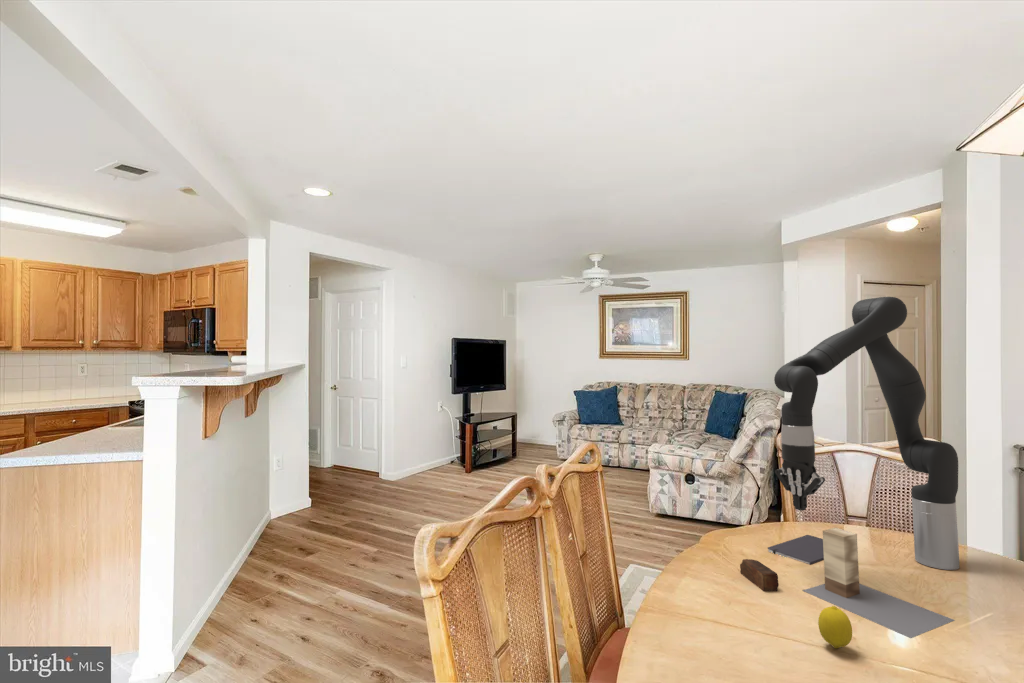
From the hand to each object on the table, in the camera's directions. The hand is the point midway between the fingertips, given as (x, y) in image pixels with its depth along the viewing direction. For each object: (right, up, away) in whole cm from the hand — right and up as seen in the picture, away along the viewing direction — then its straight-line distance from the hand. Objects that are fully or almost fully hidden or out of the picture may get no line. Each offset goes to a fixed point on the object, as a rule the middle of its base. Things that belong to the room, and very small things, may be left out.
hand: (800, 509), depth 128 cm
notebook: (+12, -19, +17) cm, 28 cm away
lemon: (-12, -16, -32) cm, 38 cm away
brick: (-13, -18, -4) cm, 22 cm away
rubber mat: (+7, -16, -16) cm, 24 cm away
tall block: (+4, -16, -10) cm, 20 cm away
